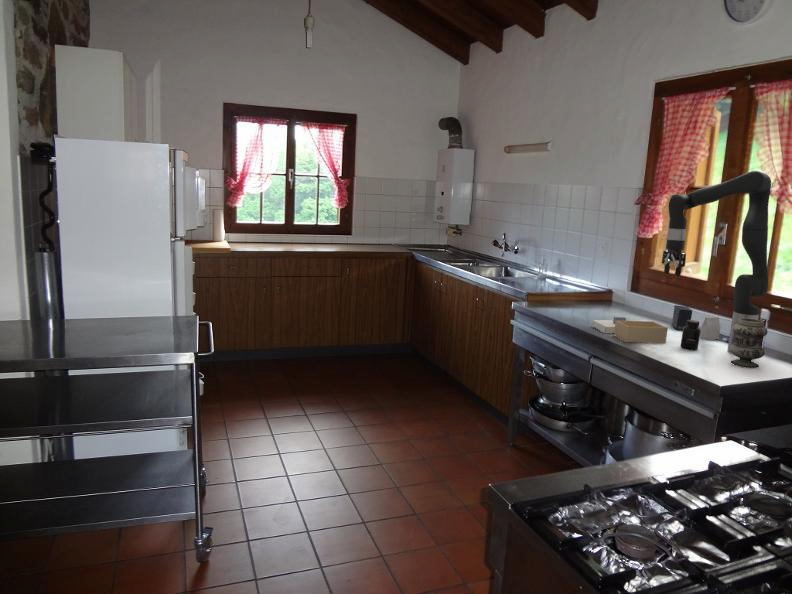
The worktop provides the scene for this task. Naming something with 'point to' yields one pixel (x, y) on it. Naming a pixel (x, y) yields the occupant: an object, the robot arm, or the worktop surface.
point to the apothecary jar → (748, 342)
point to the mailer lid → (607, 324)
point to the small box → (681, 317)
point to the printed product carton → (710, 328)
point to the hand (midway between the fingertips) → (671, 274)
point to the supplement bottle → (690, 335)
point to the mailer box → (641, 331)
